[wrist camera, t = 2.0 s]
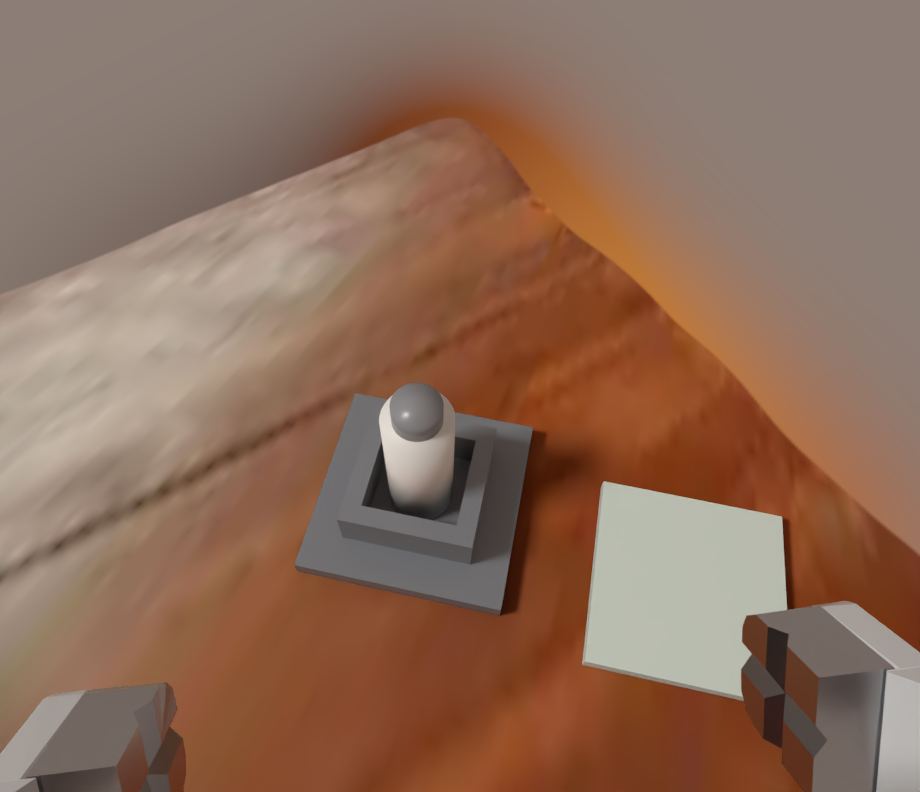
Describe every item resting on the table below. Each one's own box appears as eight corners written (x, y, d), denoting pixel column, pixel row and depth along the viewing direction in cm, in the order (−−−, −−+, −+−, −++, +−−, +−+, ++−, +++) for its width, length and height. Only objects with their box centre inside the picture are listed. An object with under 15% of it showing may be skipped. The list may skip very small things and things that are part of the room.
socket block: (499, 615, 35) (505, 596, 32) (297, 571, 36) (284, 548, 33) (531, 435, 41) (538, 405, 38) (356, 401, 42) (350, 369, 39)
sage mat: (785, 710, 33) (792, 708, 32) (582, 664, 34) (585, 661, 33) (776, 522, 38) (782, 516, 37) (600, 487, 39) (603, 481, 38)
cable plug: (445, 527, 36) (446, 446, 29) (382, 514, 37) (367, 431, 29) (458, 470, 38) (463, 380, 30) (398, 458, 38) (388, 366, 31)
